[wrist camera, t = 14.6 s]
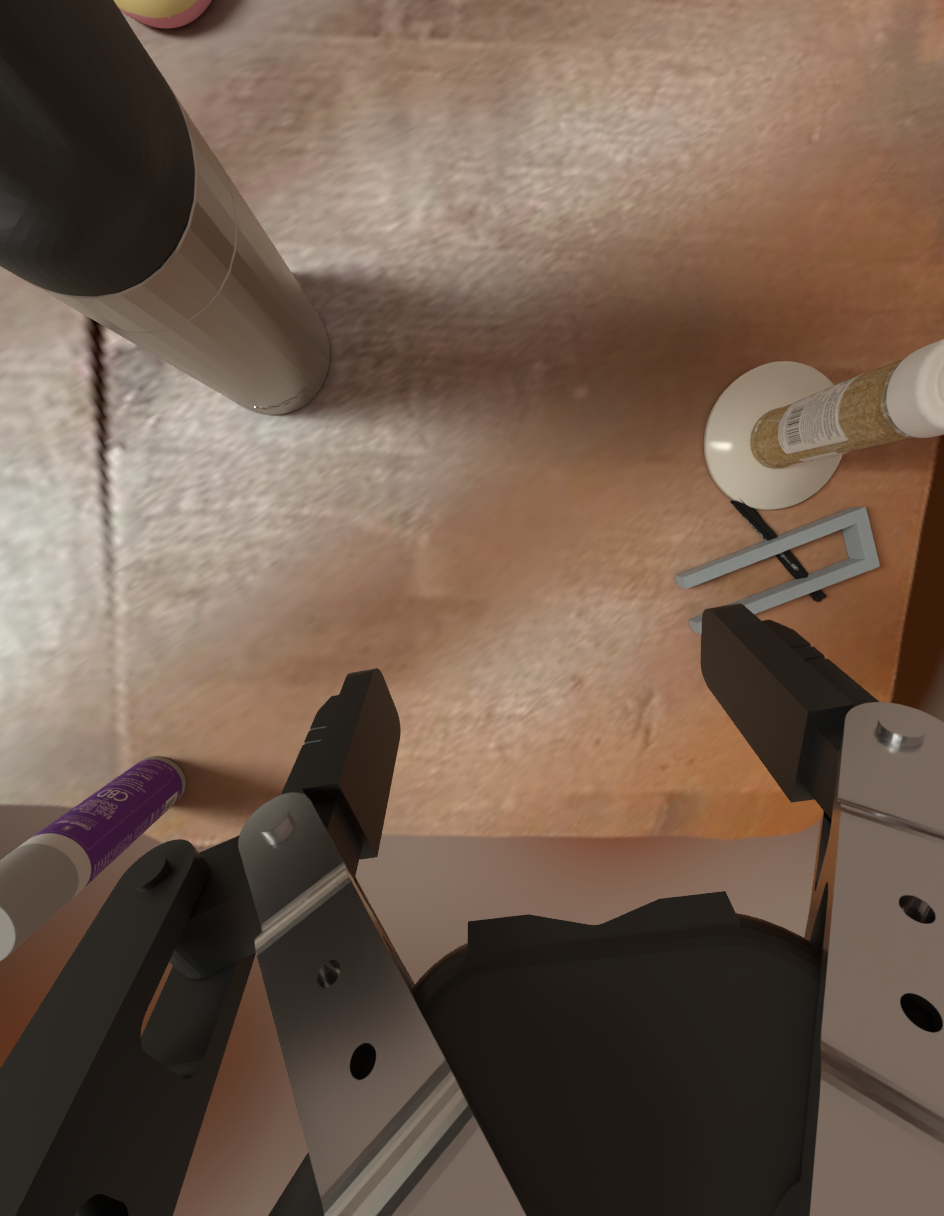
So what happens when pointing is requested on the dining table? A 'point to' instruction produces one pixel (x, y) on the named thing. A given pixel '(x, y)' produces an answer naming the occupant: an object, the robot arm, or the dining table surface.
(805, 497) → the coaster
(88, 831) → the container
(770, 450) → the sprinkles bottle
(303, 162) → the dining table surface
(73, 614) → the dining table surface
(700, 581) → the grey u-shaped piece
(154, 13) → the donut
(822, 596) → the black marker pen
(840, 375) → the dining table surface
